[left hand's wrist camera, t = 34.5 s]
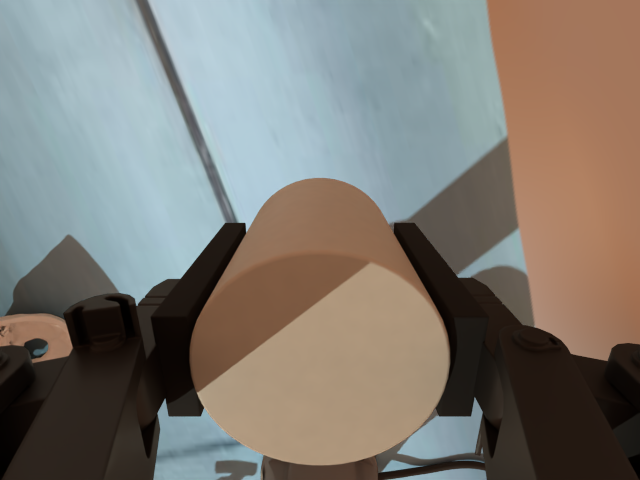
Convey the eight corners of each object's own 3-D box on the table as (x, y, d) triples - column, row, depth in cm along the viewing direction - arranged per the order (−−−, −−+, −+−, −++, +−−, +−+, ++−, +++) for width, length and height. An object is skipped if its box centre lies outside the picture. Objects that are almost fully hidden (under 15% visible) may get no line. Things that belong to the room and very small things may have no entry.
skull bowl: (-72, 351, 41) (-141, 398, 30) (56, 278, 46) (36, 296, 36) (-4, 416, 44) (-45, 480, 33) (108, 341, 49) (104, 375, 39)
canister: (299, 148, 13) (276, 193, 7) (418, 228, 15) (508, 342, 8) (225, 264, 15) (144, 400, 8) (337, 329, 16) (350, 498, 9)
